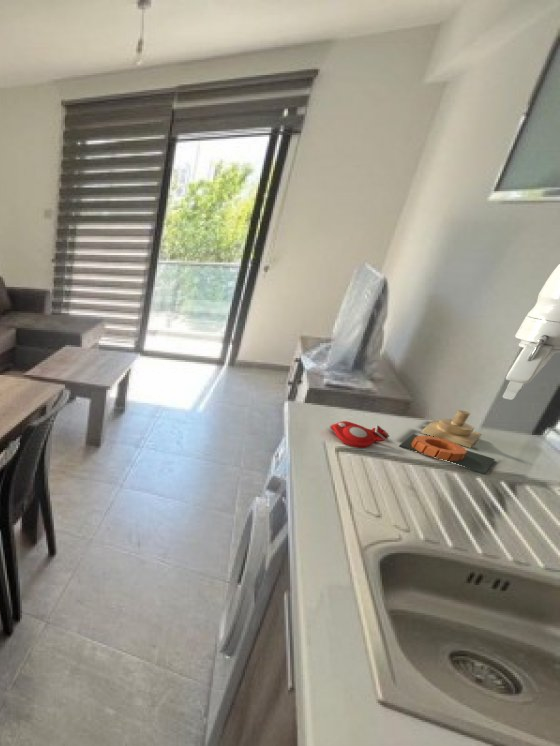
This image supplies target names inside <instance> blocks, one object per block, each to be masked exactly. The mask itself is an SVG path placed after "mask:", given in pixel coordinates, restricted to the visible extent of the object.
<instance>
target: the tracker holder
mask: <svg viewBox="0 0 560 746" xmlns="http://www.w3.org/2000/svg"><path fill="white" fill-rule="evenodd" d="M330 429H331V430H332V431H333V432H334V434H335V435H336V437H337V439H338V440H340V441H341V442H342V443H343V444H345V445H347V446H350V447H353V448H357V449H358V448H359V449H362V448H363V449H364V448H368V447H370V446H372V445H373V444H374V443H375V442H376V443H378V442H379V443H380V442H384V441H385V442H388V441H389V438H390V434H389V433H388V432H387V431H386V429H385V430H384V429H383V428H382V427H381V426H380V425H378V424H376V425H375V427H373V428H372V429H370V428H367V427H365V426H363V425H359V424H357V423H354V422H351V421H347V420H343V421H339V422H336V423H334V424H333V423H332V424H331V425H330Z"/></svg>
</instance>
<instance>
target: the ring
mask: <svg viewBox="0 0 560 746" xmlns="http://www.w3.org/2000/svg"><path fill="white" fill-rule="evenodd" d="M411 445H412V447H413V448H414V449H416V450H417V451H419V452H421V453H423V454H422V455H424V454H426V455H425V456H427V455H428V456H427V457H430V456H431V457H430V458H433V457H436V458H438V459H437V460H439V459H443V460H449V461H460V460H462V459H463V458H464V456H465V455H466V453H467V451H468V450H467V449H466V448H465V447H464V446H462V445H459V444H456V443H453V442H451V441H448V440H444V439H440V438H437V437H433V436H429V435H418V436H417V437H415V438H414V440H413V442H412V444H411ZM466 450H467V451H466ZM421 453H420V454H421ZM436 458H435V459H436Z"/></svg>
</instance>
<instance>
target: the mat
mask: <svg viewBox="0 0 560 746" xmlns="http://www.w3.org/2000/svg"><path fill="white" fill-rule="evenodd" d="M417 436H419V435H418V434H414V433H413V434H410V436H409V437H407V438H406V439H405V440H404V441H403V442H402V443H400V444H399V445H398V447H399V448H402V449H405V448H406V450H408V449H410V450H409V451H411V450H413V451H412V452H414V451H417V450H416V449H414V448H413V447H412V445H411V444H412V442H413V440H414V438H415V437H417ZM466 451H467V453H466V455H465V456H464V458H463V459H462V460H460V461H450V462H453V463H456V464H459V465H462V466H465V467H467V468H470V469H472V470H471V471H473V470H475V471H474V472H476V471H477V472H476V473H480V474H482V475H485V474H486V472H487V471H488V470H489V468H490V466H492V464H493V463H494V461H496V459H495V458H493V457H489V456H486V455H483V454H481V453H477V452H474V451H471V450H467V449H466ZM418 452H419V451H417V452H416V453H418ZM419 454H421V452H420V453H419ZM447 461H449V460H447ZM467 468H466V469H467ZM470 469H469V470H470Z"/></svg>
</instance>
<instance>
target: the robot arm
mask: <svg viewBox="0 0 560 746" xmlns="http://www.w3.org/2000/svg"><path fill="white" fill-rule="evenodd" d="M514 337H515V338H516V339H517V340H520V342H519V343H518V347H520V348H522V349H521V351H520V352H519V354H518V356H517V357H516V359H515V361H514V362H513V364H512V366H511V367H510V369H509V370H508V373H507V374H506V376H505V380H506V381H509V383H508V384H507V387H506V389H505V391H504V392H503V394H502V398H503V399H506V400H510V401H511V400H514V399H515V398H516V397H517V395H518V394H519V392H521V391H522V390H523V389H524V387H525V385H527V384H530V383H531V382H532V380H533V379H534V378H535V377H536V376H537V375H538V373H539V372H541V370H543V368H544V367H545V366H546V364H547V363H548V362H549V361H550V359H552V357H553V356H554V355H555V354H558V353H559V354H560V263H559V264H557V266H555V268H554V270H553V271H552V272H551V273H550V275H549V277H548V278H547V279H546V281H545V283H544V284H543V286H542V287H541V290H540V291H539V293H538V296H537V301H536V303H535V305H534V306H533V308H531V310H529V312H528V313H527V314H526V315H525V318H524V319H523V321H522V322H521V325H520V327H519V328H518V330H517V331H516V333H515V335H514Z"/></svg>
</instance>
